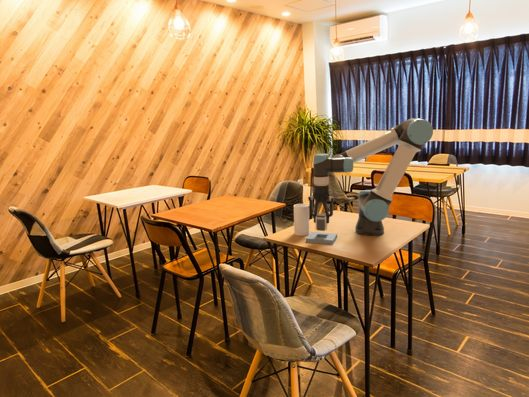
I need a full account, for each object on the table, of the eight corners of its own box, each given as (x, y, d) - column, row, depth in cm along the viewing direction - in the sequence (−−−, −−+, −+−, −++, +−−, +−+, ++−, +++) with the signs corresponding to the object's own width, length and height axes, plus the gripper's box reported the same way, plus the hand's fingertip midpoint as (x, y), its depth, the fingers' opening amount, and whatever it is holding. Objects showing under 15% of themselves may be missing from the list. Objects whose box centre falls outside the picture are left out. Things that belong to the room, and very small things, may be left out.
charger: (326, 228, 204) (326, 213, 202) (324, 230, 200) (324, 215, 199) (318, 228, 205) (318, 213, 204) (316, 230, 202) (316, 215, 200)
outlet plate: (337, 237, 207) (337, 233, 206) (332, 244, 196) (332, 240, 195) (311, 235, 212) (311, 231, 211) (305, 242, 201) (305, 238, 200)
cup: (308, 235, 211) (308, 207, 208) (293, 235, 213) (292, 207, 209) (310, 231, 219) (309, 203, 216) (295, 231, 221) (294, 203, 217)
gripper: (339, 183, 198) (339, 228, 203) (306, 182, 204) (307, 225, 209) (336, 186, 191) (336, 232, 196) (302, 185, 198) (303, 229, 202)
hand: (321, 228), depth 203 cm, fingers closed on charger, 4 cm apart
